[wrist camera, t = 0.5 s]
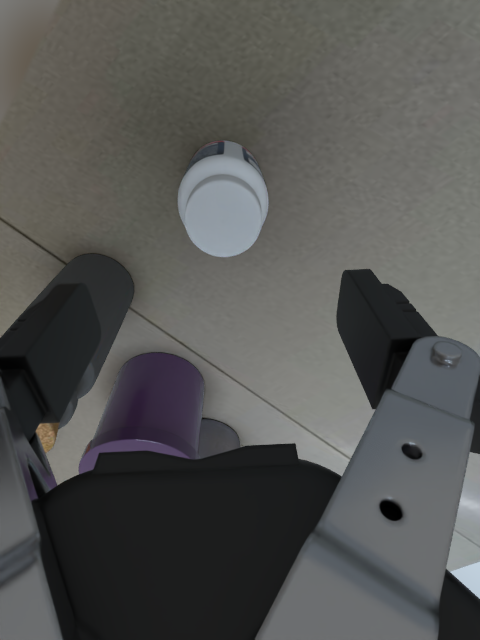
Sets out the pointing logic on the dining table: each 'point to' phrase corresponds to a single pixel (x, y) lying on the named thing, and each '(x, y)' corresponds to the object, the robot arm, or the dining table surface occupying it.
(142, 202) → the dining table surface
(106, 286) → the bottle
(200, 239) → the pill bottle
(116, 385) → the jar
